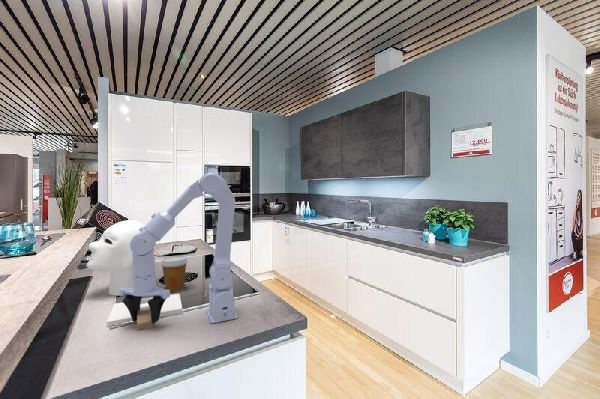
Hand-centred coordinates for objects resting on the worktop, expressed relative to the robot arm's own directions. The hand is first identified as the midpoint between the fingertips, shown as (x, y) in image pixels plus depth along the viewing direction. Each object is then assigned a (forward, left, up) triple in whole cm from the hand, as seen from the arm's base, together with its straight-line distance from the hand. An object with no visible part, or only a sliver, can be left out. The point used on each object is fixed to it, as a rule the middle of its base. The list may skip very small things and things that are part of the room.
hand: (145, 320), depth 84 cm
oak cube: (0, 0, -1) cm, 1 cm away
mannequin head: (+35, +9, -2) cm, 36 cm away
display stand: (+11, 0, -1) cm, 11 cm away
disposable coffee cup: (+28, -9, -2) cm, 29 cm away
